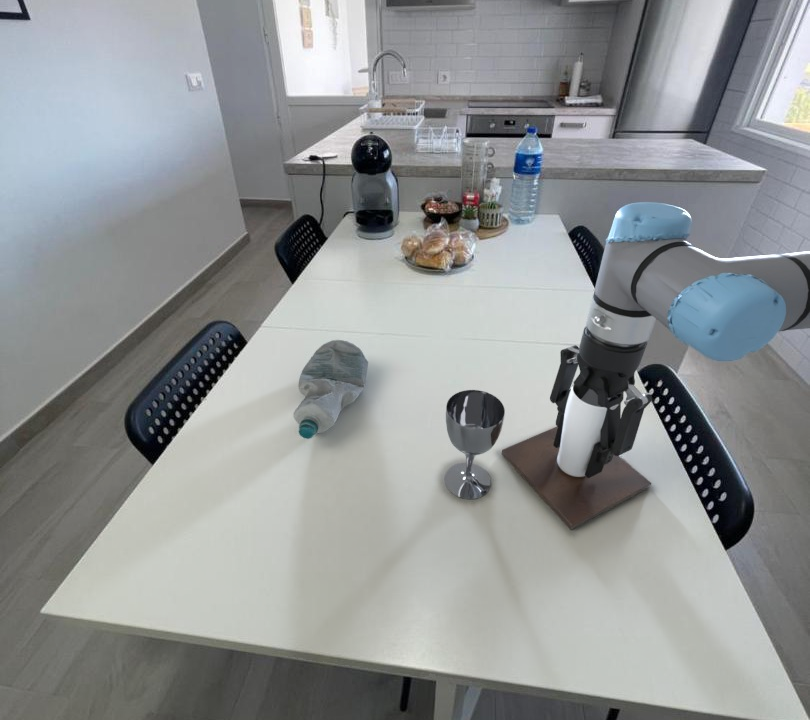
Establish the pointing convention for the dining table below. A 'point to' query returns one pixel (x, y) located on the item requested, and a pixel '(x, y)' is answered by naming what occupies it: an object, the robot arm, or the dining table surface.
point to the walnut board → (573, 480)
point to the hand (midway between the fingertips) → (576, 457)
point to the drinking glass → (580, 432)
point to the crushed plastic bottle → (329, 385)
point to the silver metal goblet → (472, 439)
